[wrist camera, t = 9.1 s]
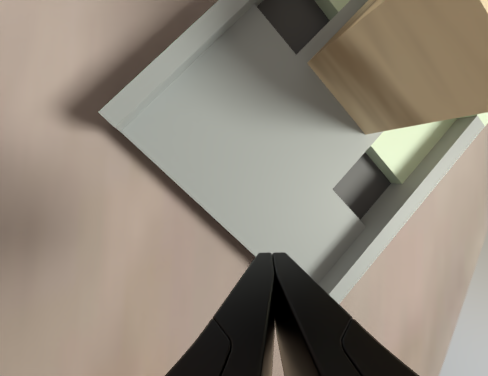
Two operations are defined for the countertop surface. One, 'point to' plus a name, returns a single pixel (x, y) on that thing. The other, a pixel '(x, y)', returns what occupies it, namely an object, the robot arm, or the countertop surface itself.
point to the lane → (282, 138)
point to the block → (408, 62)
